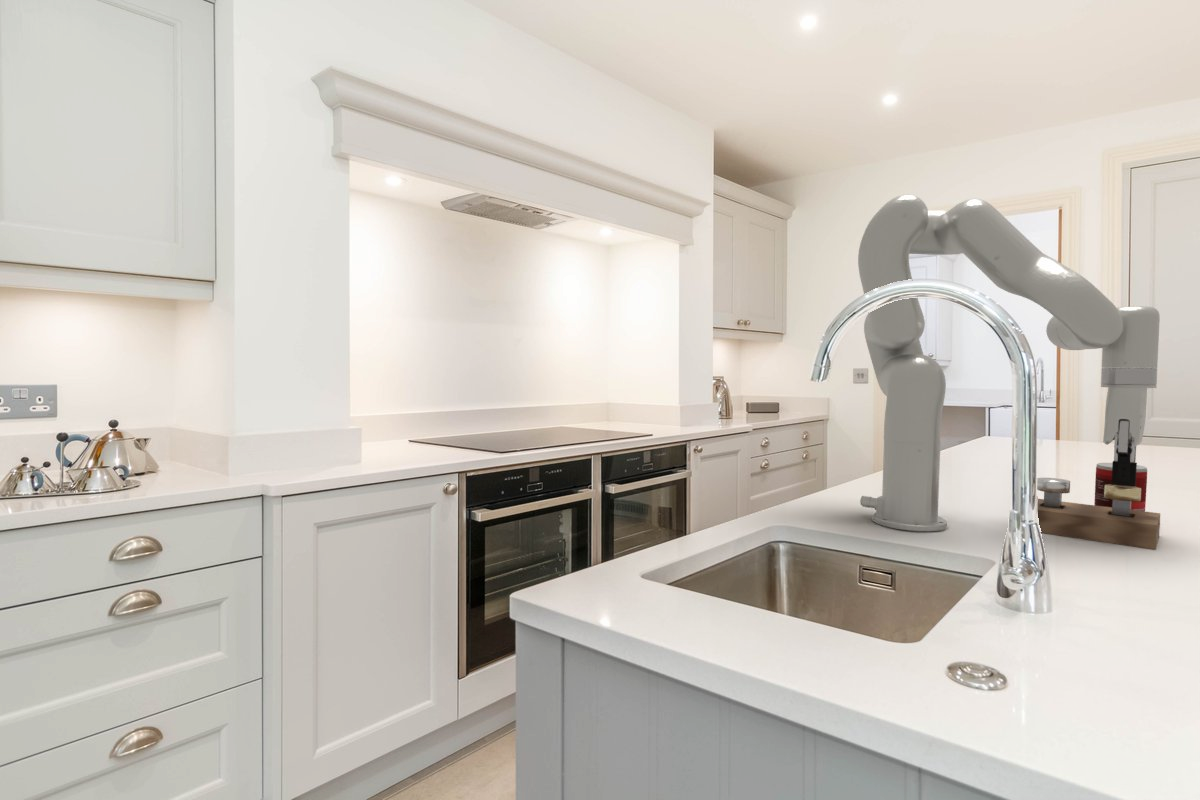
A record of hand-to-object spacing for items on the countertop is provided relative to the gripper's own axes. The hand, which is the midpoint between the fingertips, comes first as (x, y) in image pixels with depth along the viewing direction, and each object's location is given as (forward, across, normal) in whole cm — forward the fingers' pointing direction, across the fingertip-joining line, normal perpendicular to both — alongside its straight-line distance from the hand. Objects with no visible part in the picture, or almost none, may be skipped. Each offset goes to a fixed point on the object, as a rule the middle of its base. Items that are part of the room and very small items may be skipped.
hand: (1123, 484), depth 115 cm
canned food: (+10, -14, -1) cm, 17 cm away
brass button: (+6, 0, 0) cm, 6 cm away
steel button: (+6, 0, -10) cm, 12 cm away
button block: (+9, 0, -5) cm, 11 cm away
